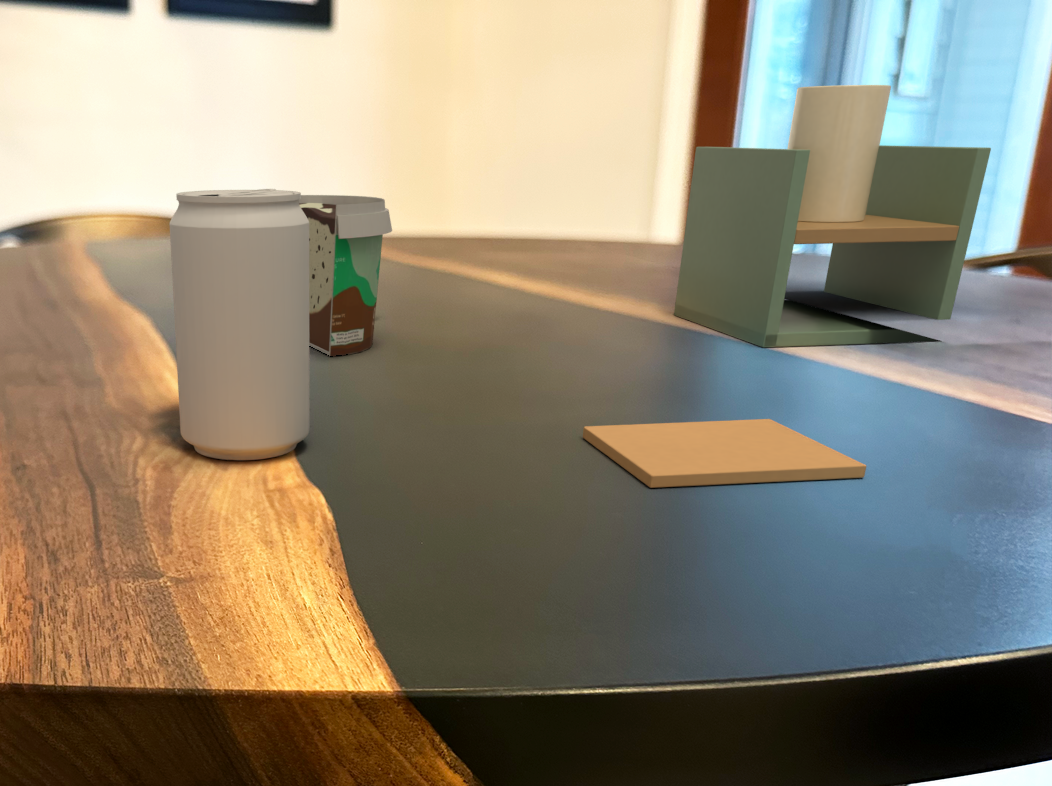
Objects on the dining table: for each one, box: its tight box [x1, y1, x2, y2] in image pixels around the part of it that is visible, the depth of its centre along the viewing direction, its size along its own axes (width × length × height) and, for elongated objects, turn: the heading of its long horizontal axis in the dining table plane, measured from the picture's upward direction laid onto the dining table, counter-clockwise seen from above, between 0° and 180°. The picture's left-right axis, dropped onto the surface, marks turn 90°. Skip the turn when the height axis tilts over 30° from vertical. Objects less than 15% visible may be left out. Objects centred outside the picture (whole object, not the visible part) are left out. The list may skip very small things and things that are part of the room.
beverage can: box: [169, 188, 310, 461], centre depth 48 cm, size 6×6×12 cm
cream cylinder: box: [786, 84, 892, 223], centre depth 74 cm, size 6×6×9 cm
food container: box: [299, 194, 393, 357], centre depth 73 cm, size 12×6×10 cm, turn 22°
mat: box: [582, 418, 867, 489], centre depth 48 cm, size 10×8×1 cm
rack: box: [673, 144, 992, 348], centre depth 76 cm, size 14×14×13 cm
